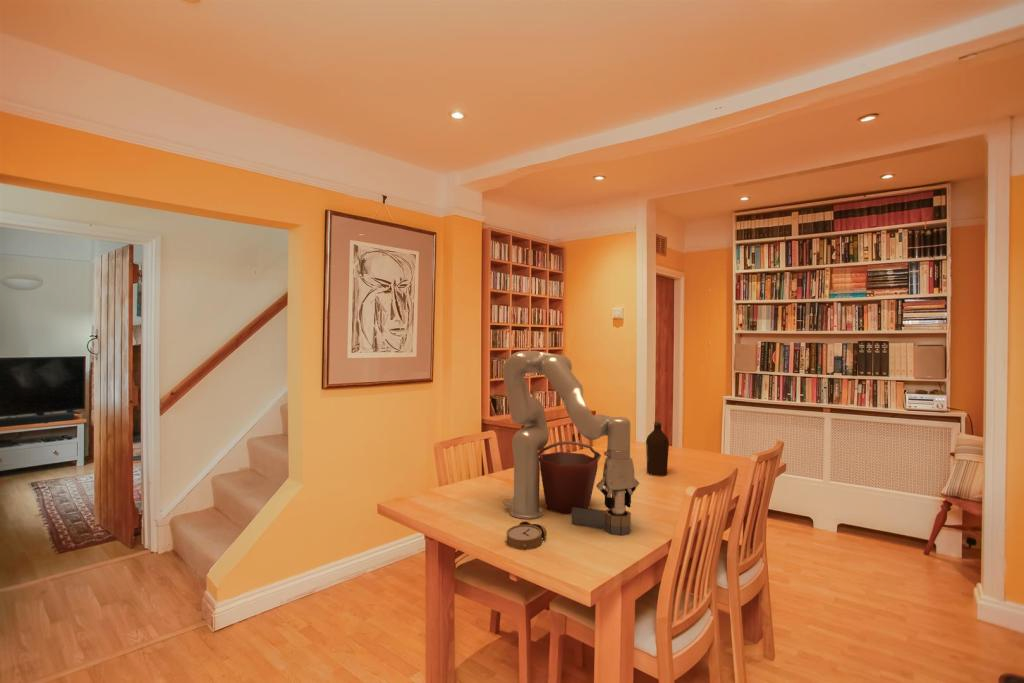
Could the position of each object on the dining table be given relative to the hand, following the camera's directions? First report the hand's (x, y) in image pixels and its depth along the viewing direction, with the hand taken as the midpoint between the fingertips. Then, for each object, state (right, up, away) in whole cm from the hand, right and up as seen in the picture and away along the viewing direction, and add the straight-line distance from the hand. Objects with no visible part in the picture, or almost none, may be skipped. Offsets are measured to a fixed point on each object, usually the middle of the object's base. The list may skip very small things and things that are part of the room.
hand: (617, 506), depth 172 cm
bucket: (-15, -8, +23) cm, 28 cm away
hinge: (-4, -8, +8) cm, 12 cm away
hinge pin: (0, -8, 0) cm, 8 cm away
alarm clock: (-31, -8, -9) cm, 34 cm away
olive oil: (+34, -8, +74) cm, 82 cm away
